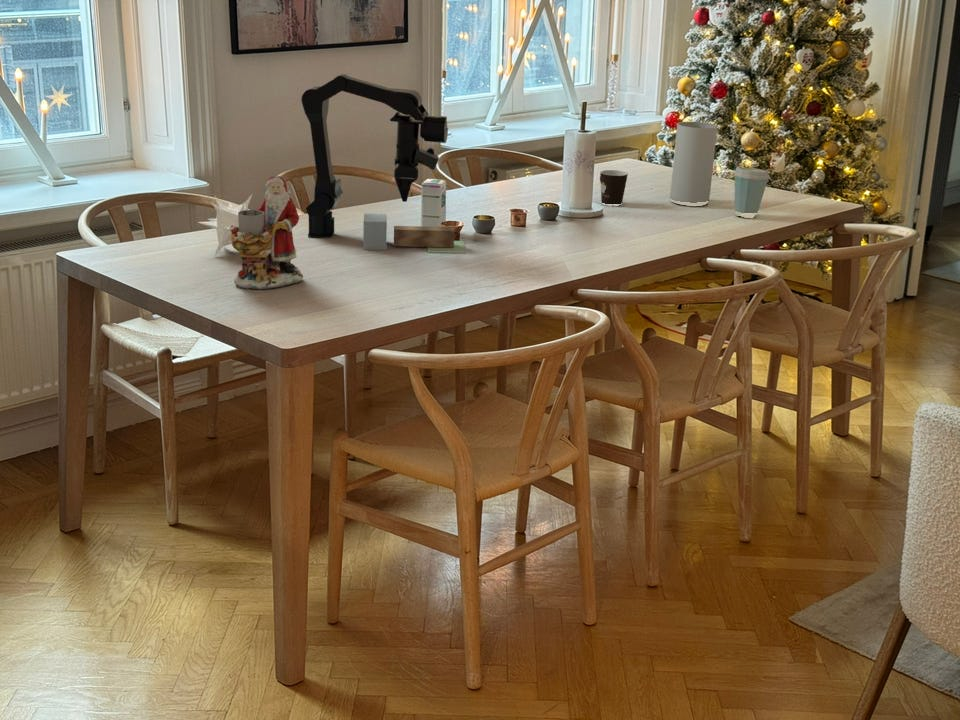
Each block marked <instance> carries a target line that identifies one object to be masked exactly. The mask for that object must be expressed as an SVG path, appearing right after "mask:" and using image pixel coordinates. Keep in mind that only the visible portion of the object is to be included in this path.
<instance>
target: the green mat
mask: <svg viewBox="0 0 960 720" xmlns="http://www.w3.org/2000/svg"><path fill="white" fill-rule="evenodd" d="M466 251H467V250H466V246H465V243H464V240H454V247H427V253H430V254H431V253H432V254H435V253H438V254H467V252H466Z"/></svg>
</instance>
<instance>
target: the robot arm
mask: <svg viewBox="0 0 960 720" xmlns="http://www.w3.org/2000/svg"><path fill="white" fill-rule="evenodd" d="M341 92H344V93H347V94H351V95H355V96H357V97H362V98H364V99H368V100H371V101H375V102H377V103H378V102H379V103H381V104H384V105H386V106H387V107H389V108H391V109H392V110H394V111H396V112H395V114H394V115H393V116H392V117H391V118H389V121H390V122H394V123H395V122H396V123H397V128H396V129H397V130H396V144H395V145H396V148H395V156H394V170H393V171H394V172H393V177H394V180H395V183H396V186H397V189H398V191H399V195H400V198H401V201H402V202H405V203H406V202H407V201H408V197H409V194H410V191H411V186H412V184H413V183H414V182H416V181H417V180H418V178H419V168H418V166H419V165H423V166H425V167H427V168H429V169H430V170H433V171H435V169H436V167H437V165H438V163H439V161H440V157H439V156H438V154H435V148H432V147H427V148H426V149H422V148H420V143H419V136H420V138H421V139H423V141H424V142H427V143H429V142H431V143H441V144H446V143H447V139H448V134H449V133H448V132H449V128H448V119H447V118H448V117H447V116H443V115H442V116H436V115H430V114H429V113H428V111H427V109H426V108H425V106H424V105H423V99H422V95H420V93H419V92H418V91H416V90H414V89H406V88H392V87H386V86H382V85H380V84H376V83H373V82H369V81H366V80H364V79H363V80H362V79H360V78H355V77H352V76H350V75H347V74H346V73H344V74H343V73H342V74H339V75H336V76H335V77H334V78H333V79H332V80H330V81H328V82H327V83H325V84H323V85H321V86H317V85H315V86H313V87H310V88H309V89H307V90H305V91H304V92H303V94H302V95H301V98H300V99H301V100H300V101H301V104H302V105H301V106H302V108H303V112H304V115H305V116H306V118H307V121H308V122H309V126H310V134H311V142H312V149H313V159H314V164H315V165H314V167H315V173H316V178H315V184H314V195H313V196H314V197H313V198H314V199H313V201H312V202H310V204H308V205H307V206H306V207H305V210H306V213H307V215H308V234H307V237H308V238H333V235H334V234H335V217H334V216H333V211H332V210H333V209H334V207H335V206H336V205H337V204H338V203H339V202H340V200H341V196H342V195H343V193H344V192H343V189H342V180H341V178H338V179H336V177H335V175H334V172H333V165H332V156H331V150H330V149H331V147H330V139H329V131H328V124H327V119H328V114H329V106H330V105H329V103H330V101H329V100H330V99H331V98H333V97H334V96H336V95H338V94H339V93H341Z"/></svg>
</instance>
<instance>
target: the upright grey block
mask: <svg viewBox="0 0 960 720" xmlns="http://www.w3.org/2000/svg"><path fill="white" fill-rule="evenodd" d="M387 218H388V214H387V213H366V212H365V213H364V214H363V234H362V235H363V237H362V238H363V239H362V240H363V242H362V243H363V244H362V245H363V251H367V250H368V251H387V235H388V233H387V227H388V226H387V225H388V223H387V221H388V219H387Z"/></svg>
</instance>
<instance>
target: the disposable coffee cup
mask: <svg viewBox="0 0 960 720" xmlns="http://www.w3.org/2000/svg"><path fill="white" fill-rule="evenodd" d="M733 175H734V212H735V211H737V212H741V213H757V212H758V213H759V210H760V207H761V203H762V200H763V197H764V193H765V190H766V187H767V185H768V184H767V183H768V180H769V179H770V175H769V173H768V171H767V170H765V169H760V168H753V167H736V170H734V173H733ZM758 213H757V214H758Z"/></svg>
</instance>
